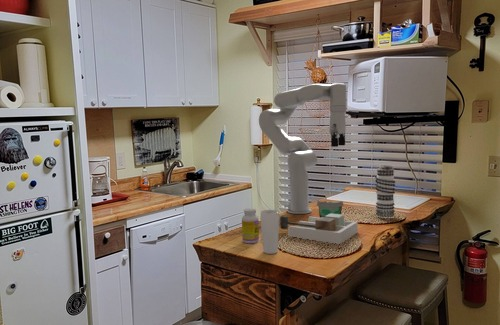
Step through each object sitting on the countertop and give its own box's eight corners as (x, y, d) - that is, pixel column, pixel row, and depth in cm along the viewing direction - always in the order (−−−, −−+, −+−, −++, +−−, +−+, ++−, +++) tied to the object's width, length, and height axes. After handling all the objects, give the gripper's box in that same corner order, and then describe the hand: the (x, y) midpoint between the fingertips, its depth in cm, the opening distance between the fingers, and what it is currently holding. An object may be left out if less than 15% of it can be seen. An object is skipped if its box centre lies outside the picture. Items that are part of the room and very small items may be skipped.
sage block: (325, 230, 174) (325, 216, 174) (330, 227, 179) (330, 213, 179) (338, 232, 171) (338, 217, 170) (344, 228, 176) (344, 214, 175)
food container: (314, 223, 192) (314, 202, 191) (317, 220, 198) (317, 199, 197) (341, 225, 188) (341, 203, 187) (343, 222, 194) (343, 200, 193)
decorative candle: (372, 215, 206) (373, 165, 204) (391, 215, 206) (392, 164, 203) (377, 219, 197) (378, 167, 195) (397, 219, 197) (398, 166, 194)
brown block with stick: (277, 229, 176) (277, 215, 176) (284, 226, 181) (284, 212, 181) (329, 236, 163) (329, 221, 163) (335, 233, 168) (335, 218, 167)
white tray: (288, 236, 171) (288, 226, 170) (309, 226, 187) (309, 216, 187) (339, 244, 159) (339, 232, 158) (357, 232, 175) (357, 221, 175)
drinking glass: (266, 256, 147) (265, 214, 145) (258, 251, 153) (257, 210, 152) (283, 253, 149) (282, 212, 148) (274, 248, 156) (273, 208, 154)
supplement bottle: (256, 244, 162) (255, 211, 160) (240, 243, 163) (239, 211, 162) (260, 239, 168) (260, 208, 167) (245, 238, 170) (244, 207, 169)
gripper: (336, 110, 207) (337, 144, 208) (323, 109, 192) (324, 147, 193) (351, 109, 203) (351, 145, 204) (339, 109, 188) (339, 147, 190)
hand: (338, 145), depth 199 cm, fingers open, 9 cm apart
